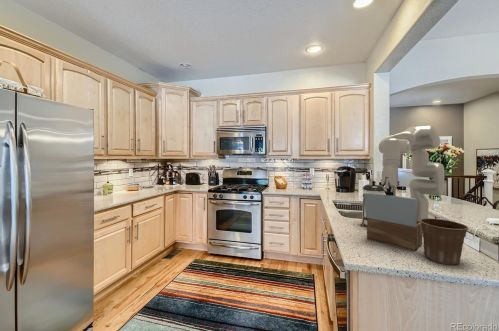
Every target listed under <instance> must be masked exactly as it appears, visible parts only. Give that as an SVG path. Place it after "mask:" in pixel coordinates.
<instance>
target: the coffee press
mask: <svg viewBox="0 0 499 331" xmlns="http://www.w3.org/2000/svg"><path fill="white" fill-rule="evenodd" d="M385 192H386V188H385V186H382V185H381V184H376V181H375V180H372V181H371V184H364V185H363V187H362V211H361V212H362V215H361V216H362V217H361V218H362V220H361V222H362V223H361V224H360V226H361V227H362V226H364V227H365V226H367V218H366V212H365V198H364V193H373V194H382V195H385Z"/></svg>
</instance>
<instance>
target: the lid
mask: <svg viewBox="0 0 499 331" xmlns="http://www.w3.org/2000/svg"><path fill="white" fill-rule="evenodd" d="M364 198H365V212H366V218H372V219H377V220H382V221H387V222H392V223H398V224H403V225H408V226H413V227H417V210H416V198H411V197H407V196H397V195H394V196H390V195H386V194H384V195H382V194H373V193H364Z"/></svg>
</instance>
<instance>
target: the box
mask: <svg viewBox="0 0 499 331" xmlns="http://www.w3.org/2000/svg"><path fill="white" fill-rule="evenodd" d="M366 240H369V241H373V242H375V243H380V244H385V245H389V246H392V247H396V248H400V249H404V250H408V251H411V252H416V251H417V250H418V249H419V248H420V247H422V246H423V230H422V225H421V222H420V221H417V227H413V226H408V225H403V224H398V223H392V222H387V221H382V220H377V219H372V218H367V225H366Z"/></svg>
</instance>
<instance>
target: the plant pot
mask: <svg viewBox="0 0 499 331" xmlns="http://www.w3.org/2000/svg"><path fill="white" fill-rule="evenodd" d="M420 222H421V225H422V230H423V238H422V242H423V254H424V257H425V258H427V259H430V261H431V262H435V263H439V264H441V263H442V264H441V265H450V266H453V265H459V264H460V262H461V257H462V252H463V246H464V241H465V238H466V236H467V231H468V229H469V226H468V225H466V224H463V223H460V222H457V221H453V220H452V221H451V220H448V219H447V220H446V219H441V218H440V219H439V218H430V217H428V218H425V219H421V220H420Z"/></svg>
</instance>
